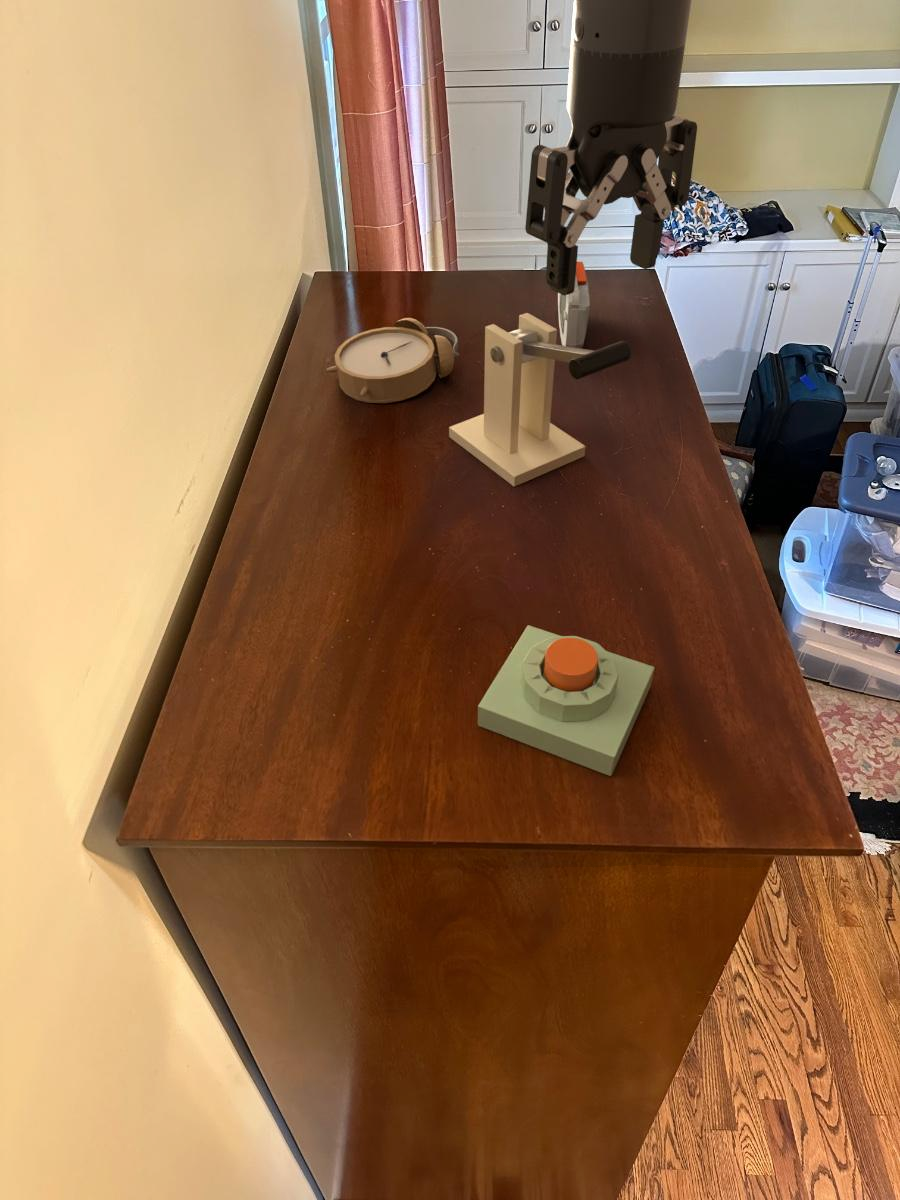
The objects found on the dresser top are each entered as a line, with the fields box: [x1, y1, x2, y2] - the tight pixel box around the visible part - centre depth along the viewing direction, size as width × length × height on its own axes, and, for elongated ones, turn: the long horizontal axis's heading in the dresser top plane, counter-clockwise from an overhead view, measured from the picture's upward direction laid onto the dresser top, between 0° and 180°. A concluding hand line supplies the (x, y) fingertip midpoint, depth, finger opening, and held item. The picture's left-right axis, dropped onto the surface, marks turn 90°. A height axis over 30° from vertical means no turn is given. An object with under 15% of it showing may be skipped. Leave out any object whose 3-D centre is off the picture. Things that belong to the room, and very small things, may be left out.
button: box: [544, 638, 598, 692], centre depth 60 cm, size 4×4×2 cm
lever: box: [508, 328, 632, 380], centre depth 76 cm, size 13×6×2 cm, turn 35°
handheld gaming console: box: [557, 261, 591, 349], centre depth 104 cm, size 14×3×8 cm, turn 178°
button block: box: [477, 624, 655, 777], centre depth 61 cm, size 10×9×4 cm
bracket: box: [448, 312, 586, 487], centre depth 84 cm, size 11×9×13 cm
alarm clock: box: [326, 317, 460, 404], centre depth 98 cm, size 11×5×15 cm
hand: (602, 278), depth 68 cm, fingers open, 8 cm apart
